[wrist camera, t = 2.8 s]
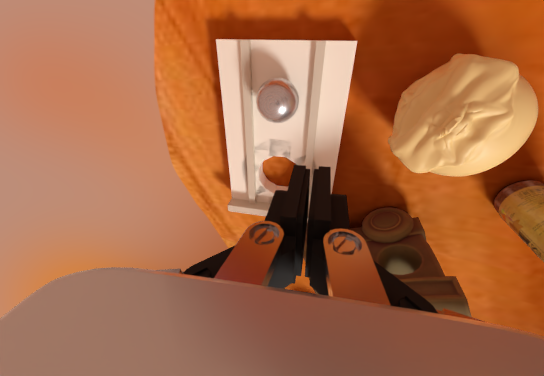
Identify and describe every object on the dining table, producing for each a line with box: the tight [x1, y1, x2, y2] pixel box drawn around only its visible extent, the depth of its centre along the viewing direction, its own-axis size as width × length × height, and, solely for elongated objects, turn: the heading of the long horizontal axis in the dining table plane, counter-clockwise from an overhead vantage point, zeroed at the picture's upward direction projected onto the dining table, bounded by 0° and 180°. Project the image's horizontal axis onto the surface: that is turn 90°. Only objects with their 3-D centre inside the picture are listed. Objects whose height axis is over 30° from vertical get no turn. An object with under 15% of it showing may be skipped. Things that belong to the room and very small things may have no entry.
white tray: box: [216, 39, 357, 223], centre depth 33 cm, size 24×16×4 cm, turn 0°
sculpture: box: [388, 53, 538, 176], centre depth 25 cm, size 12×12×11 cm
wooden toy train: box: [303, 207, 471, 317], centre depth 35 cm, size 20×11×17 cm, turn 114°
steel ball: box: [256, 77, 299, 123], centre depth 28 cm, size 5×5×5 cm
